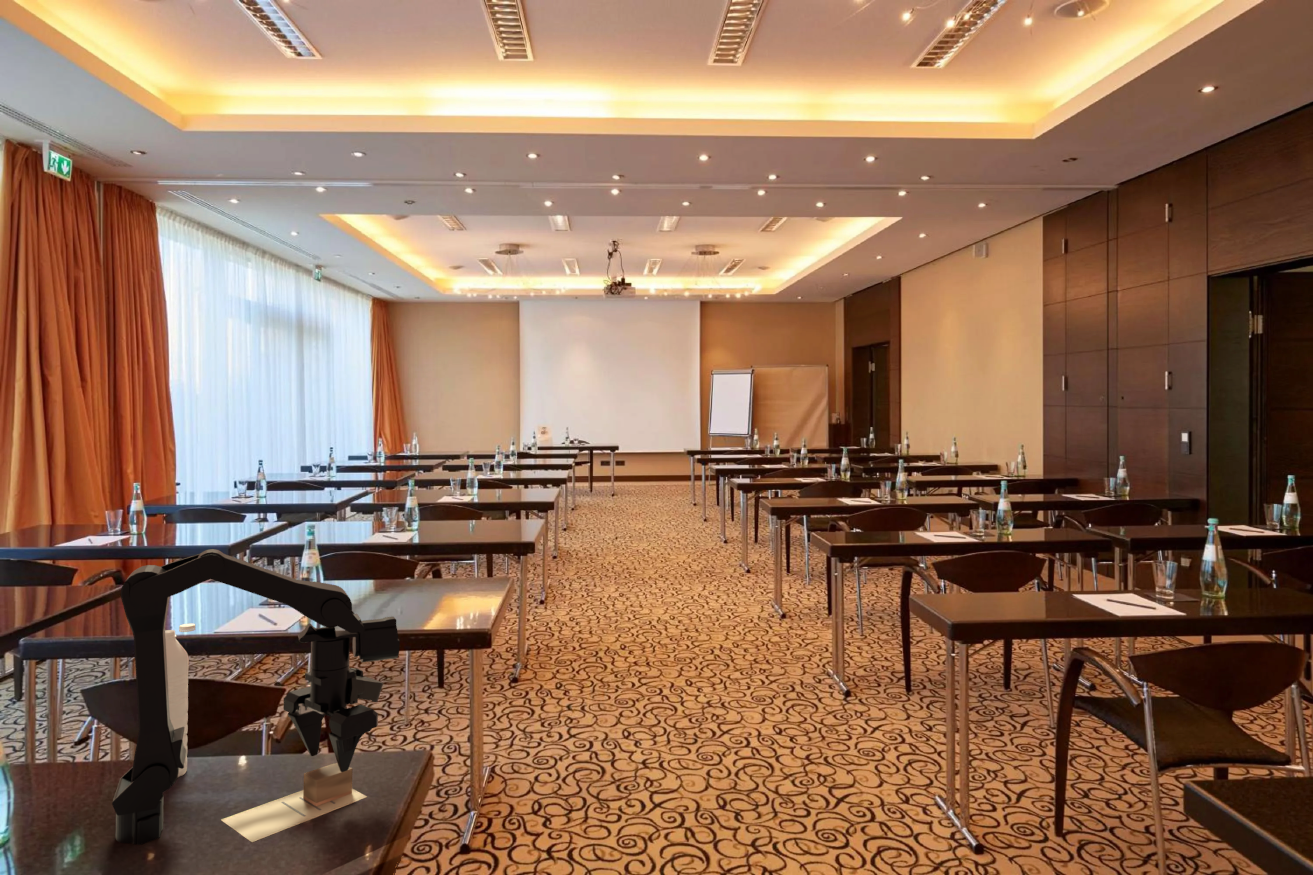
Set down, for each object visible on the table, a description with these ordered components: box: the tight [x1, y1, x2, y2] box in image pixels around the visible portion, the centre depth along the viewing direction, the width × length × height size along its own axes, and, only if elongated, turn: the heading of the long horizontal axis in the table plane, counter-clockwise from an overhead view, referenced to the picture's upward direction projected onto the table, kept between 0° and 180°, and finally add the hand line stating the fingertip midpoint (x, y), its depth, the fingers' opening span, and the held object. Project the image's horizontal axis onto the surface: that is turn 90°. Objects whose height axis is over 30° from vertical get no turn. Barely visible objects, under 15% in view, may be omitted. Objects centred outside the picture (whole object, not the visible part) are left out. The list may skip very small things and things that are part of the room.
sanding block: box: [302, 762, 353, 806], centre depth 124 cm, size 4×6×4 cm, turn 142°
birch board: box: [220, 788, 368, 843], centre depth 120 cm, size 10×18×2 cm, turn 142°
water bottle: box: [165, 623, 196, 778], centre depth 135 cm, size 9×6×25 cm
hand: (328, 762), depth 124 cm, fingers open, 9 cm apart
